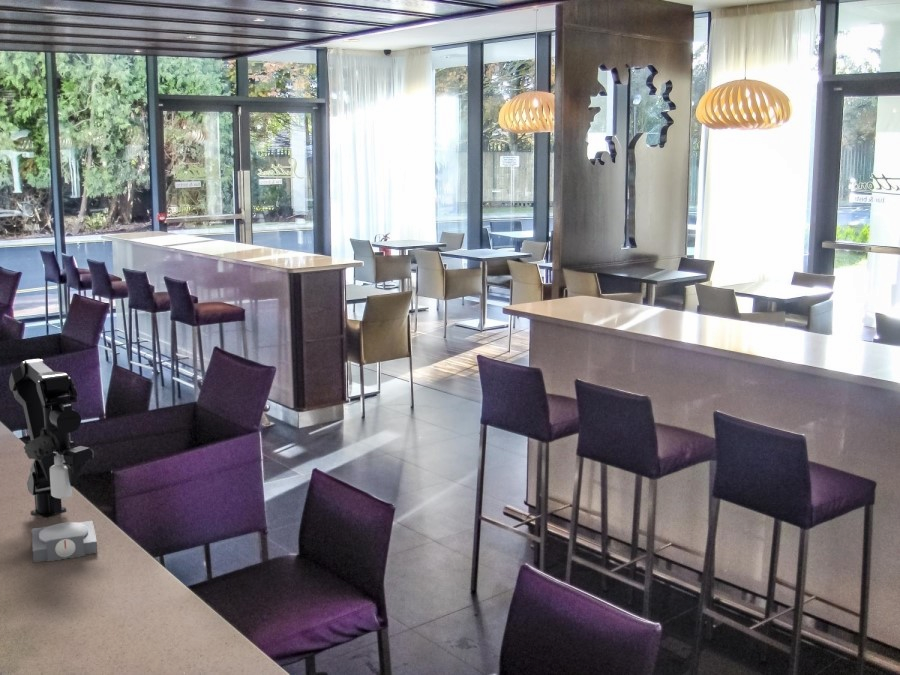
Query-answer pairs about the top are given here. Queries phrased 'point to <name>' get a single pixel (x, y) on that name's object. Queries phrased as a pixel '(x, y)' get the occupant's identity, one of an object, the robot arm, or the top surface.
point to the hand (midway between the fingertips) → (60, 482)
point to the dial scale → (63, 541)
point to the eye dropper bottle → (60, 479)
